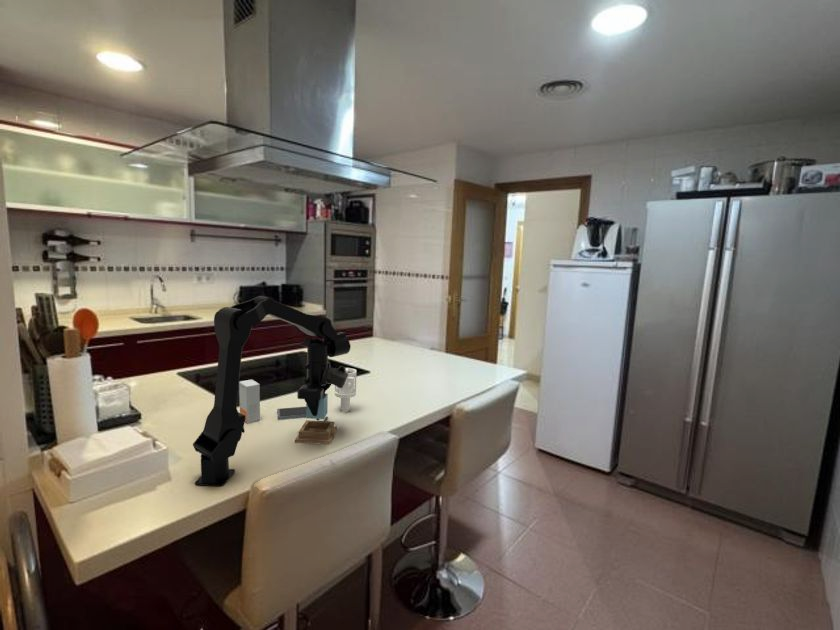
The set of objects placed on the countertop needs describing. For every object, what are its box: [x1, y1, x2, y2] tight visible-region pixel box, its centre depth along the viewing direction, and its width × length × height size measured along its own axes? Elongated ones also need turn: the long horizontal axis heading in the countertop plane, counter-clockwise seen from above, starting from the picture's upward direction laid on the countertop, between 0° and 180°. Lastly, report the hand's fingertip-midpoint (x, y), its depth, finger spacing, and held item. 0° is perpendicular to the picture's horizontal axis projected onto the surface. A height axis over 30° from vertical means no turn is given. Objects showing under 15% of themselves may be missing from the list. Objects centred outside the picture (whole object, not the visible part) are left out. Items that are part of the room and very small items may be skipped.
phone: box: [276, 406, 306, 421], centre depth 135 cm, size 7×14×1 cm, turn 110°
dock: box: [294, 420, 338, 445], centre depth 119 cm, size 10×10×3 cm
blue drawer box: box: [305, 393, 329, 420], centre depth 118 cm, size 4×5×6 cm
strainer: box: [334, 367, 357, 413], centre depth 139 cm, size 7×7×15 cm
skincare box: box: [238, 379, 261, 424], centre depth 128 cm, size 6×4×12 cm
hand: (316, 412), depth 118 cm, fingers closed on blue drawer box, 4 cm apart
